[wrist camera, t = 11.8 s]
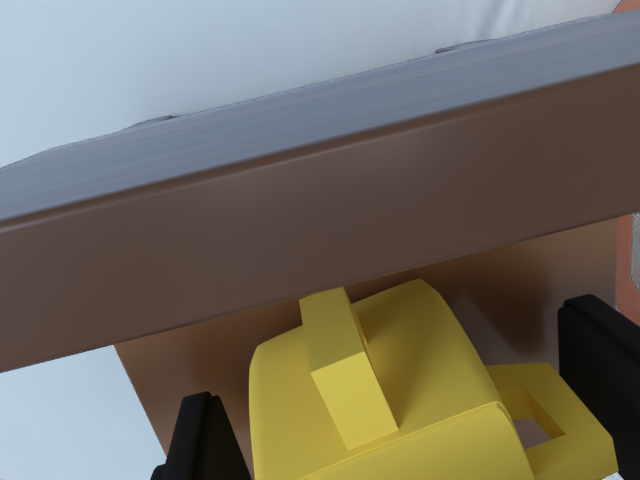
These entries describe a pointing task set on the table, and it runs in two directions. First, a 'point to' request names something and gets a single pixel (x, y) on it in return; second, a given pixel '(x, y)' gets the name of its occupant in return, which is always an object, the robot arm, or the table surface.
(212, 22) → the table surface
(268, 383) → the teapot
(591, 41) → the miniature wooden seat
